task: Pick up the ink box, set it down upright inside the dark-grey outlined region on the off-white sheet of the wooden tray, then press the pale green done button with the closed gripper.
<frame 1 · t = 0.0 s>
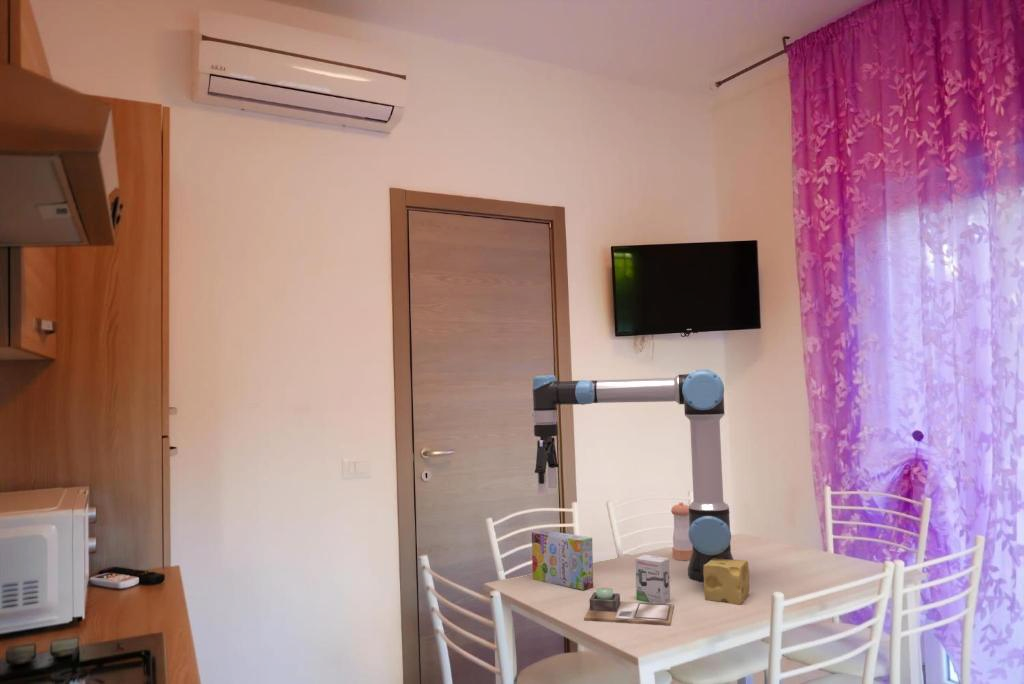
hand: (547, 491, 228), 28 cm above the table, fingers open, 13 cm apart
ink box: (653, 600, 203), on the table
done button: (604, 595, 196), point 4 cm above the table, slide at 0.0 cm
cheese: (726, 598, 204), on the table
wooden tray: (630, 613, 192), on the table
salt shaker: (683, 558, 251), on the table
snack box: (562, 583, 224), on the table
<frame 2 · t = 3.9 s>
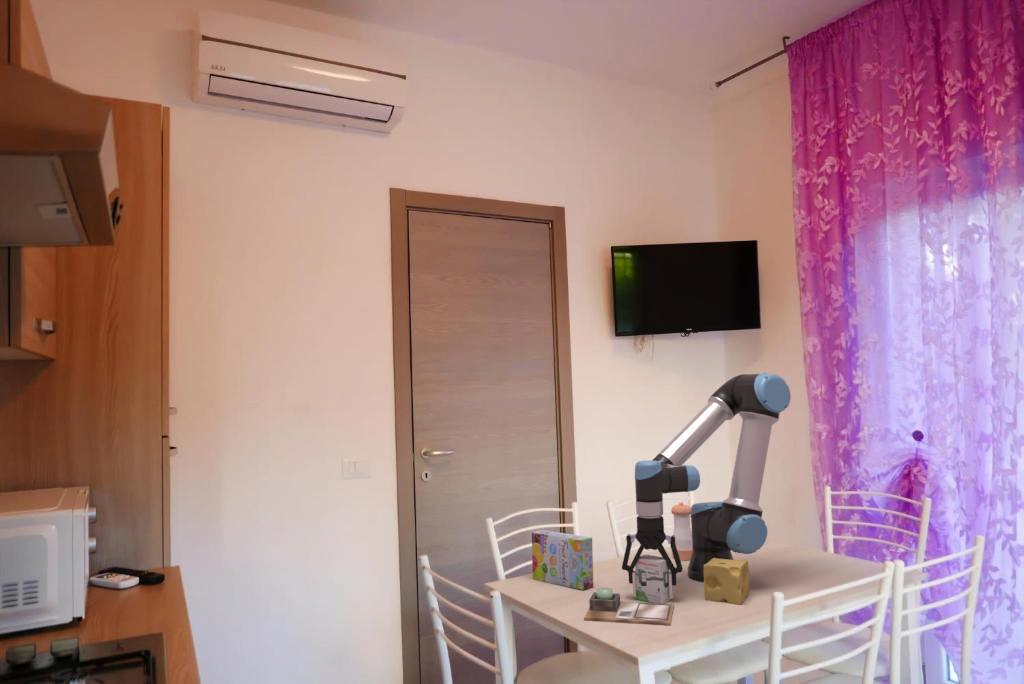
hand: (653, 596, 203), 1 cm above the table, fingers closed on ink box, 9 cm apart
ink box: (653, 600, 203), on the table, touching gripper
everything else where it was.
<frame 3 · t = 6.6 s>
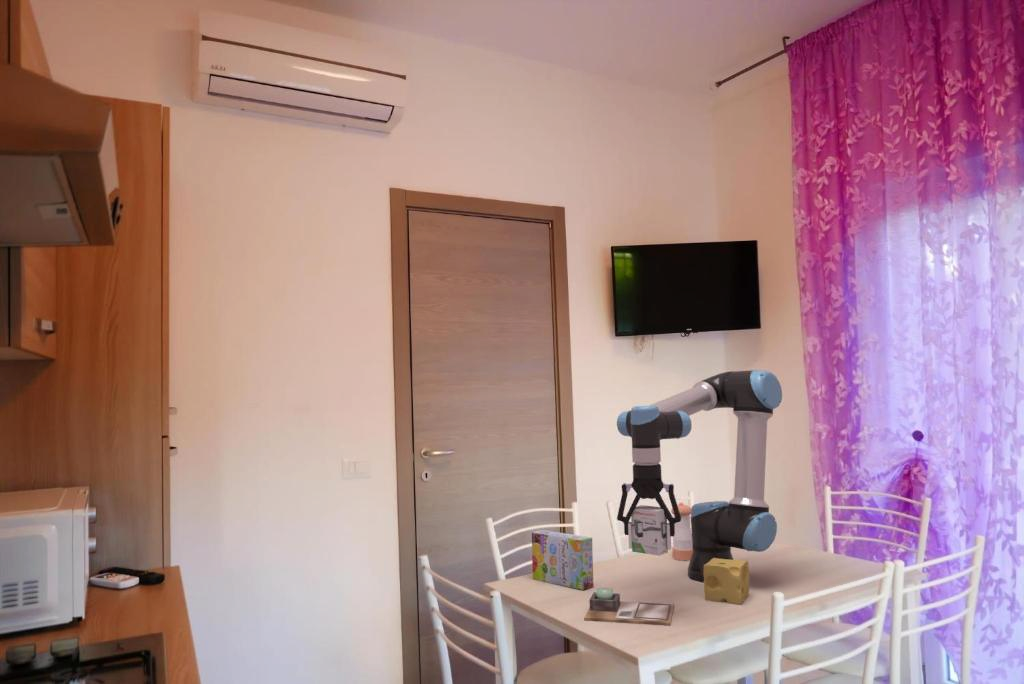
hand: (650, 548, 192), 17 cm above the table, fingers closed on ink box, 9 cm apart
ink box: (650, 553, 192), point 16 cm above the table, touching gripper
everything else where it was.
when the fingers open (4 cm above the table, at t = 9.6 s): ink box drops 1 cm, resting on wooden tray.
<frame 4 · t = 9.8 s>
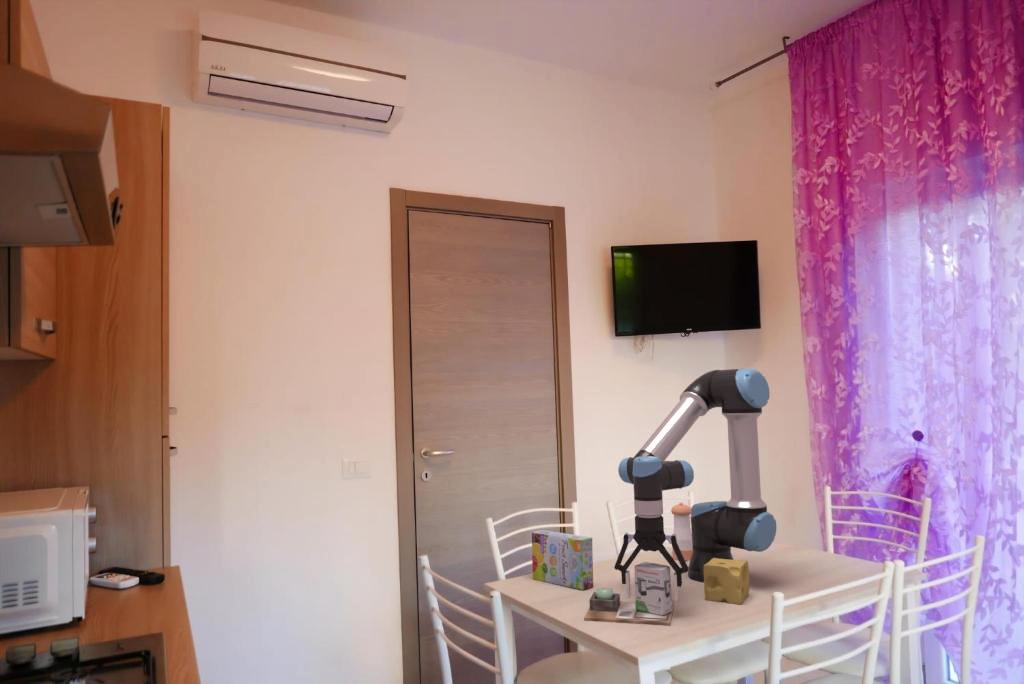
hand: (652, 597, 191), 4 cm above the table, fingers open, 12 cm apart
ink box: (653, 611, 191), point 1 cm above the table, touching wooden tray
everything else where it was.
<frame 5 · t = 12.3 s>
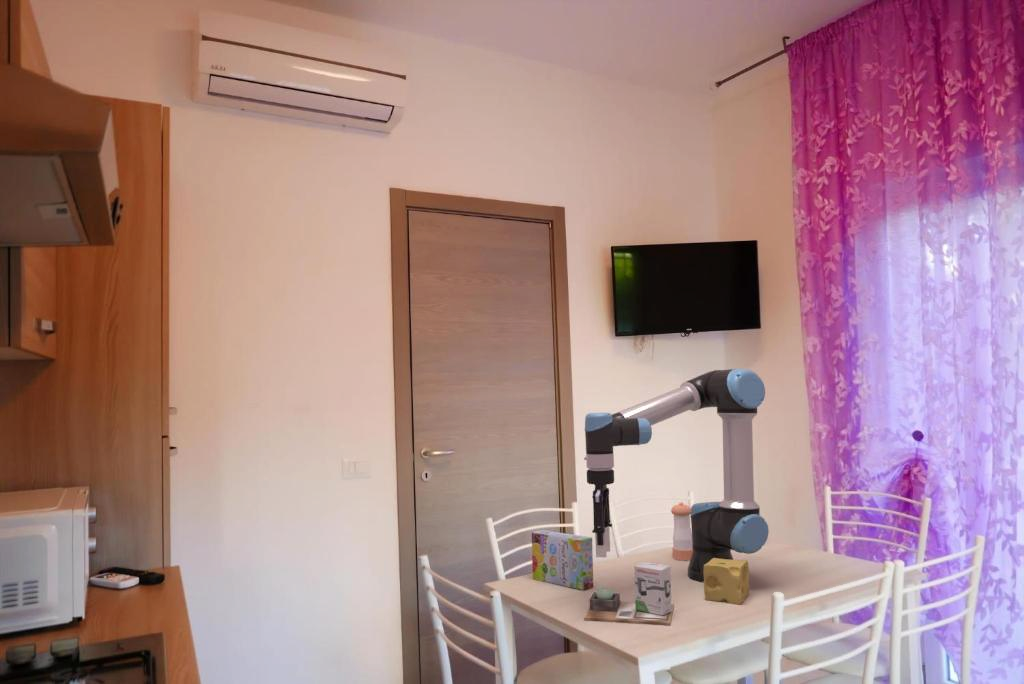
hand: (603, 553, 197), 15 cm above the table, fingers open, 6 cm apart
nothing on the table moved.
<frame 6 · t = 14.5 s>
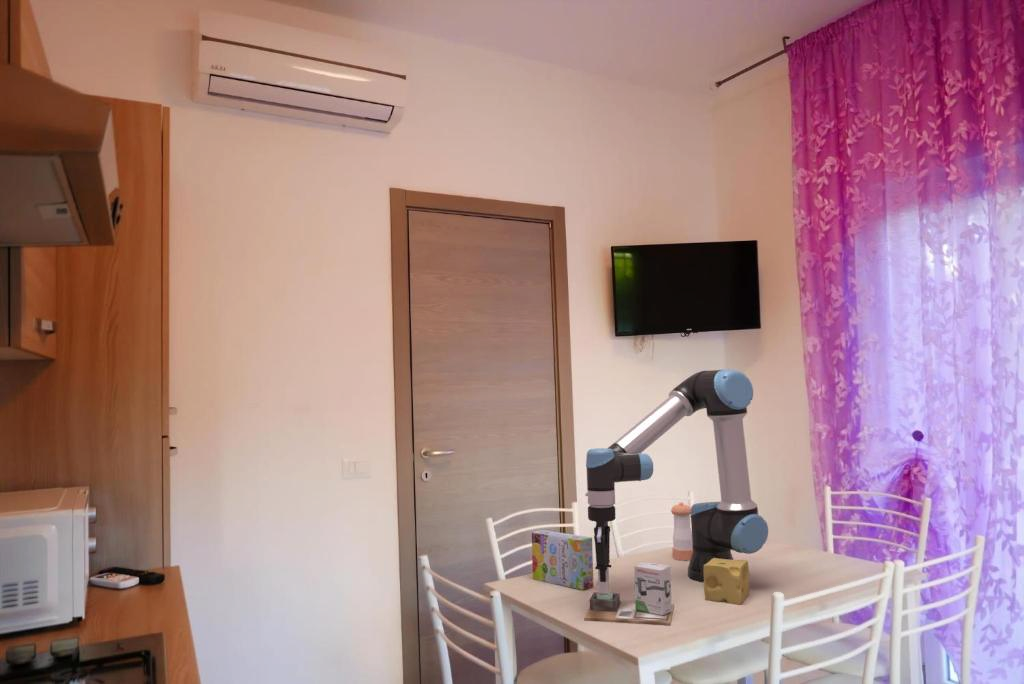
hand: (604, 592, 196), 4 cm above the table, fingers closed
done button: (604, 599, 196), point 3 cm above the table, slide at 1.0 cm, touching gripper
everything else where it was.
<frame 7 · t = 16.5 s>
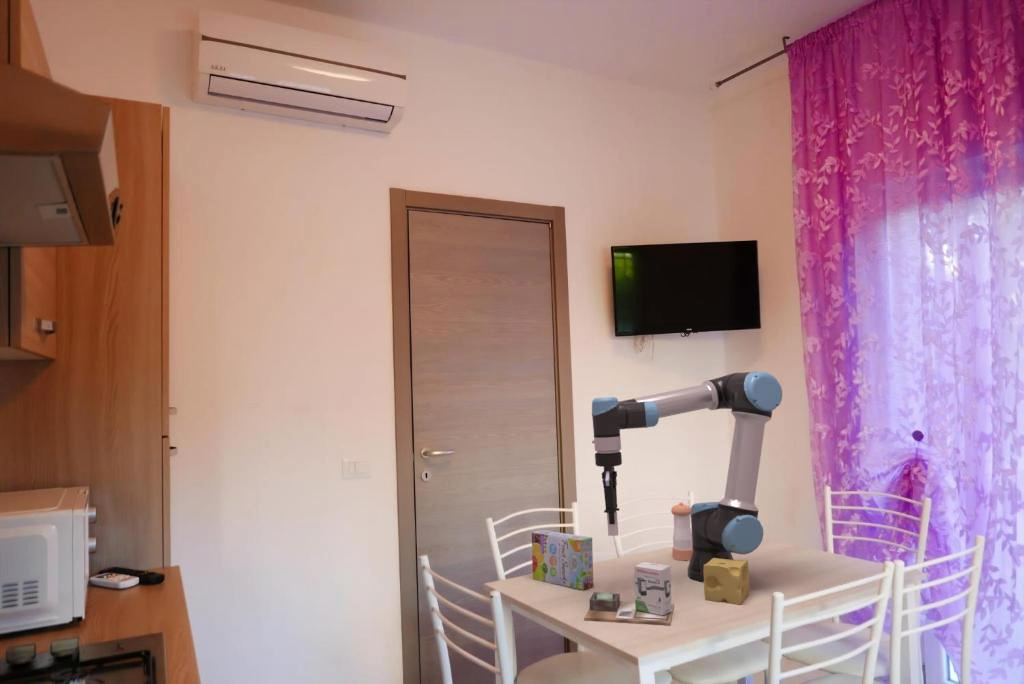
hand: (613, 534, 204), 19 cm above the table, fingers closed
done button: (604, 600, 196), point 2 cm above the table, slide at 1.4 cm
everything else where it was.
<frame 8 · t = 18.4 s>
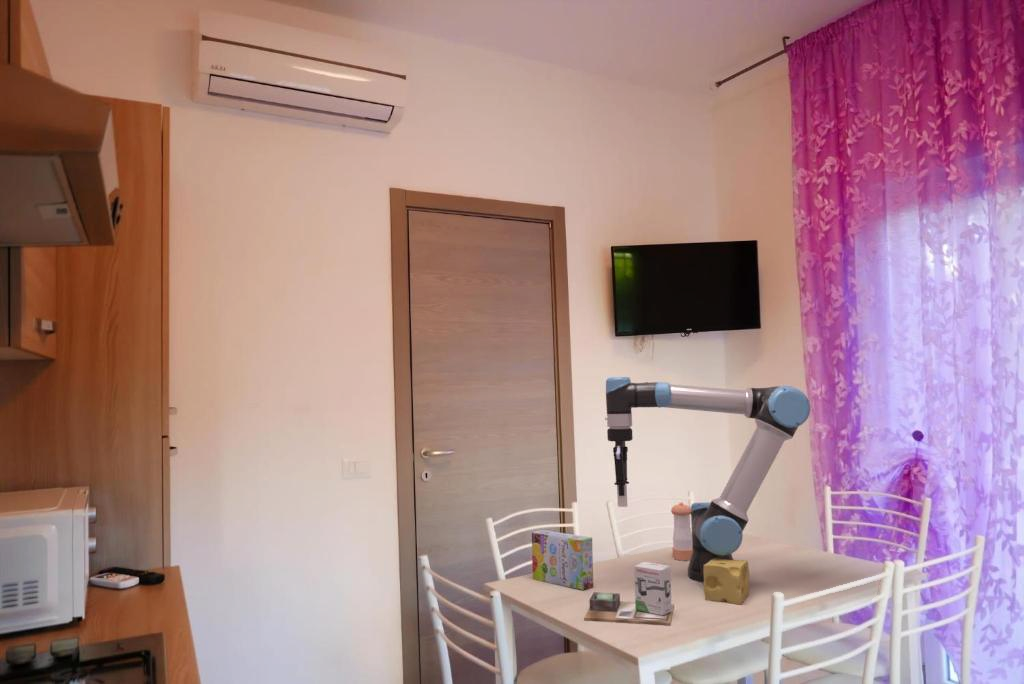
hand: (622, 506, 217), 24 cm above the table, fingers closed
nothing on the table moved.
at the end: ink box inside the target area (0.2 cm from its centre), point 0.8 cm above the table; ink box tilted 0°; done button slide at 1.4 cm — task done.
